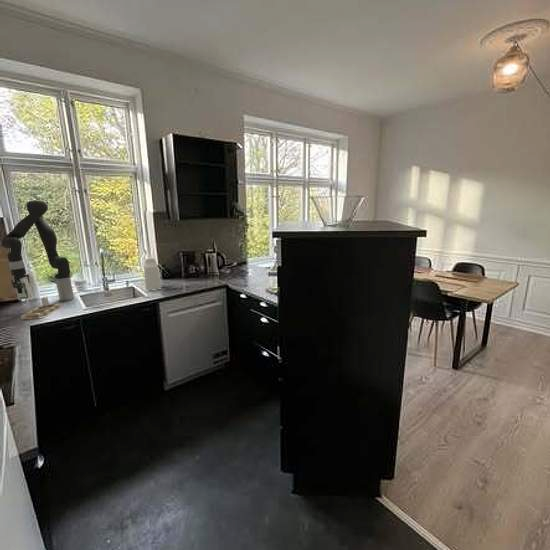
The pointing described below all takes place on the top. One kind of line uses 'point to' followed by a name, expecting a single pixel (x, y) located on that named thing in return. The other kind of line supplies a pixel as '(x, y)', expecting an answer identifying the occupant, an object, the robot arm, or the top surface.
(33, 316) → the hole bar
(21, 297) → the syrup box
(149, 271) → the milk
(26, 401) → the top surface
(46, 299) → the steel pin
